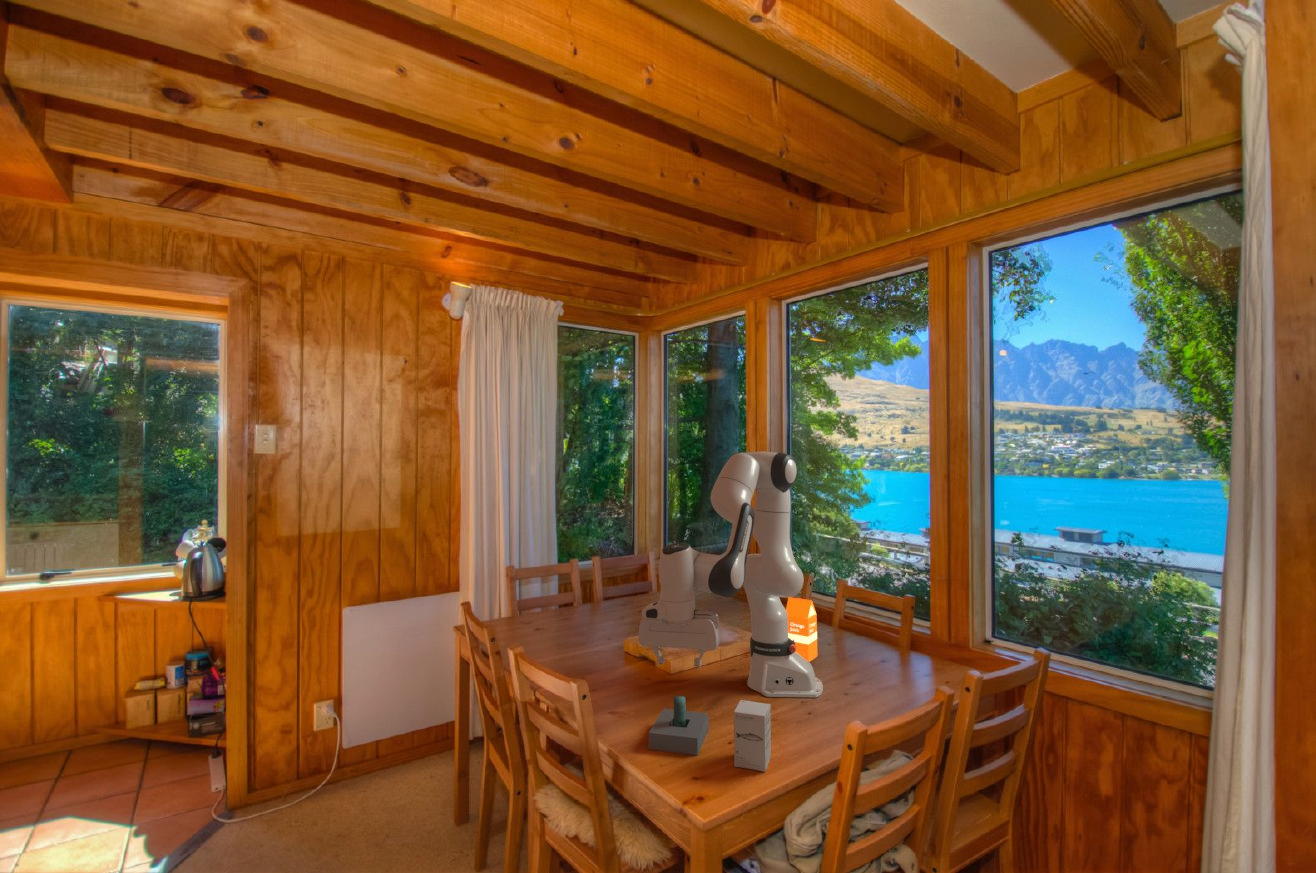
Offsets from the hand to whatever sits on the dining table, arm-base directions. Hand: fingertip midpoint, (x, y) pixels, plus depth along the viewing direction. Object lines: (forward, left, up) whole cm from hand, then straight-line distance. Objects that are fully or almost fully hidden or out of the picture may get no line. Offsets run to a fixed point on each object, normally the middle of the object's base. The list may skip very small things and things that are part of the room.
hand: (679, 664), depth 152 cm
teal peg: (0, 0, -18) cm, 18 cm away
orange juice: (-27, -68, -19) cm, 75 cm away
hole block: (0, 0, -18) cm, 18 cm away
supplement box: (-19, +7, -19) cm, 27 cm away
